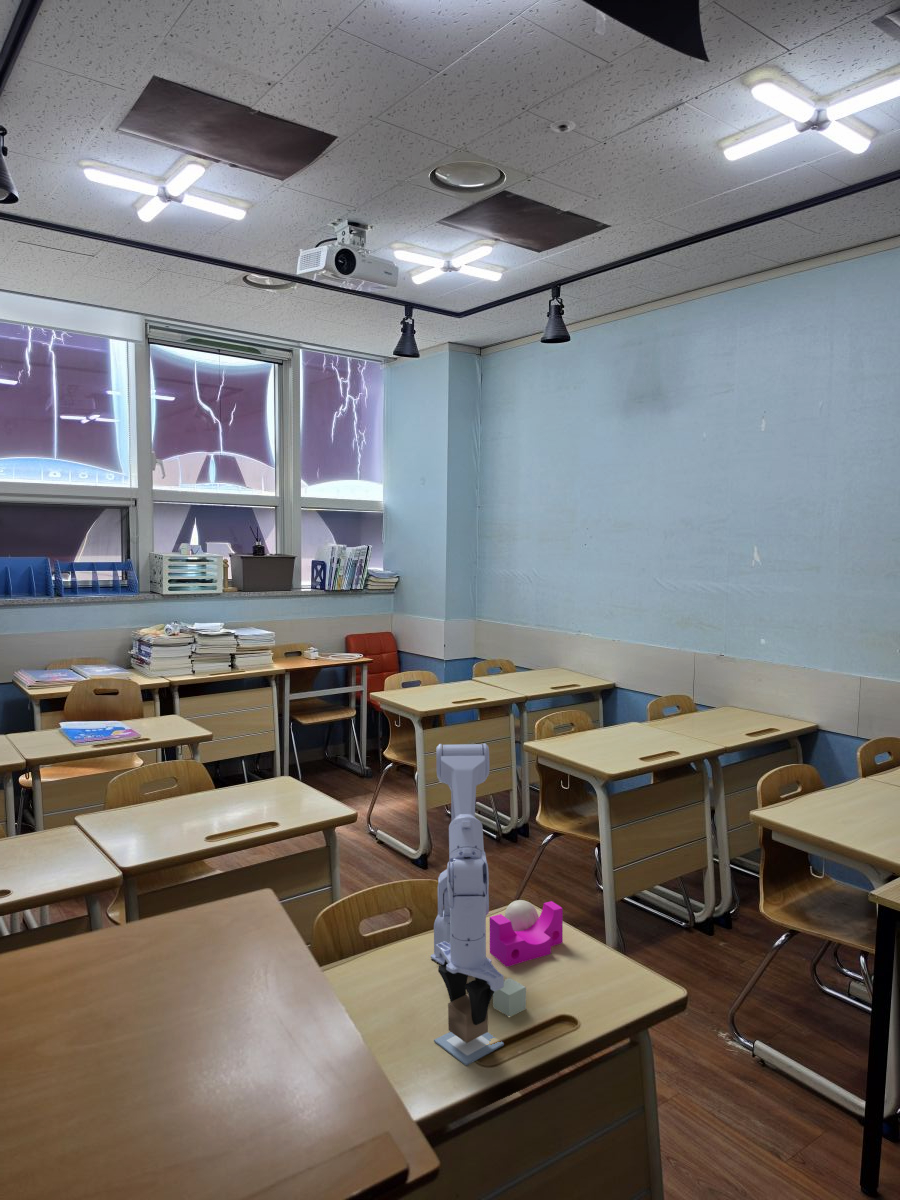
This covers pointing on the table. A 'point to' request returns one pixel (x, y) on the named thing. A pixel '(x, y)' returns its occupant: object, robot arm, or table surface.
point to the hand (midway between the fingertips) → (468, 1015)
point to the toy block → (526, 936)
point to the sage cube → (510, 998)
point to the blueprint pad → (467, 1047)
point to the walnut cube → (464, 1020)
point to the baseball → (521, 915)
